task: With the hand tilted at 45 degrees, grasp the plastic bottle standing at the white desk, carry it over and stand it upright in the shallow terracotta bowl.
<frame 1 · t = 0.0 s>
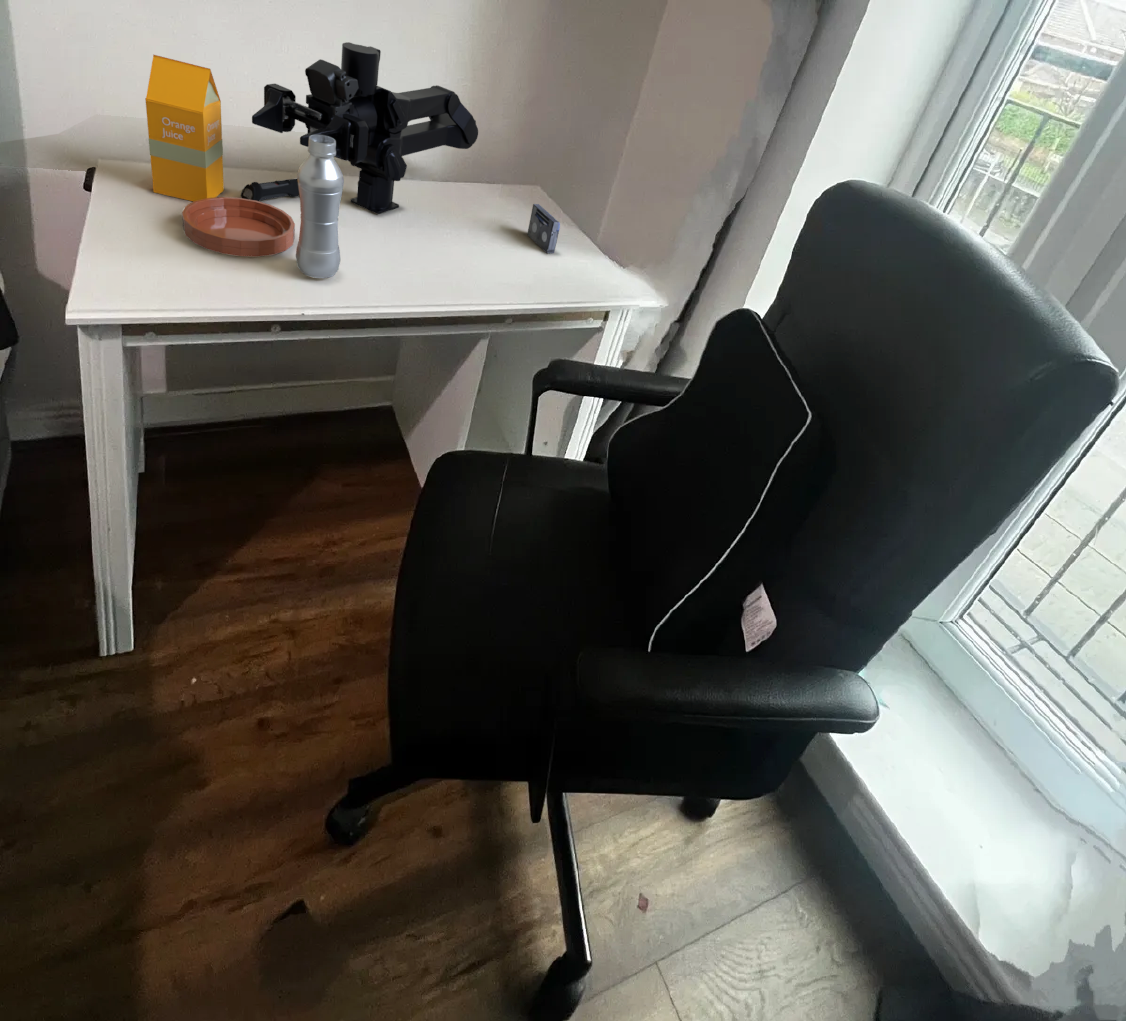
hand: (276, 130, 122), 17 cm above the table, tool horizontal, fingers open, 9 cm apart
electric trimmer: (282, 197, 145), on the table
mini dv tape: (540, 244, 155), on the table
bowl: (240, 236, 129), on the table
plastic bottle: (317, 275, 126), on the table
orange juice: (189, 192, 138), on the table
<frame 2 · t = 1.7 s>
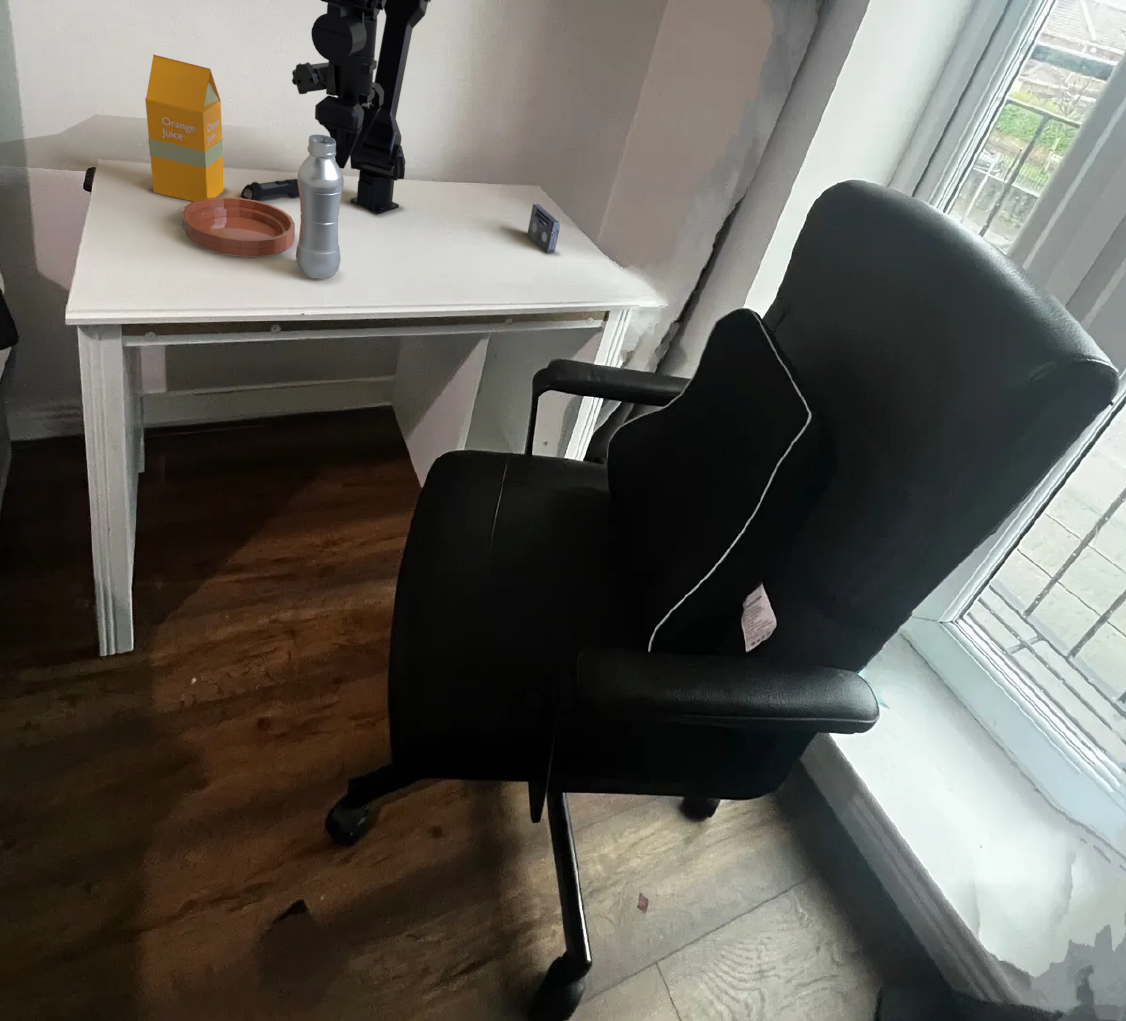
hand: (347, 159, 130), 13 cm above the table, tool pointing down, fingers open, 9 cm apart
nothing on the table moved.
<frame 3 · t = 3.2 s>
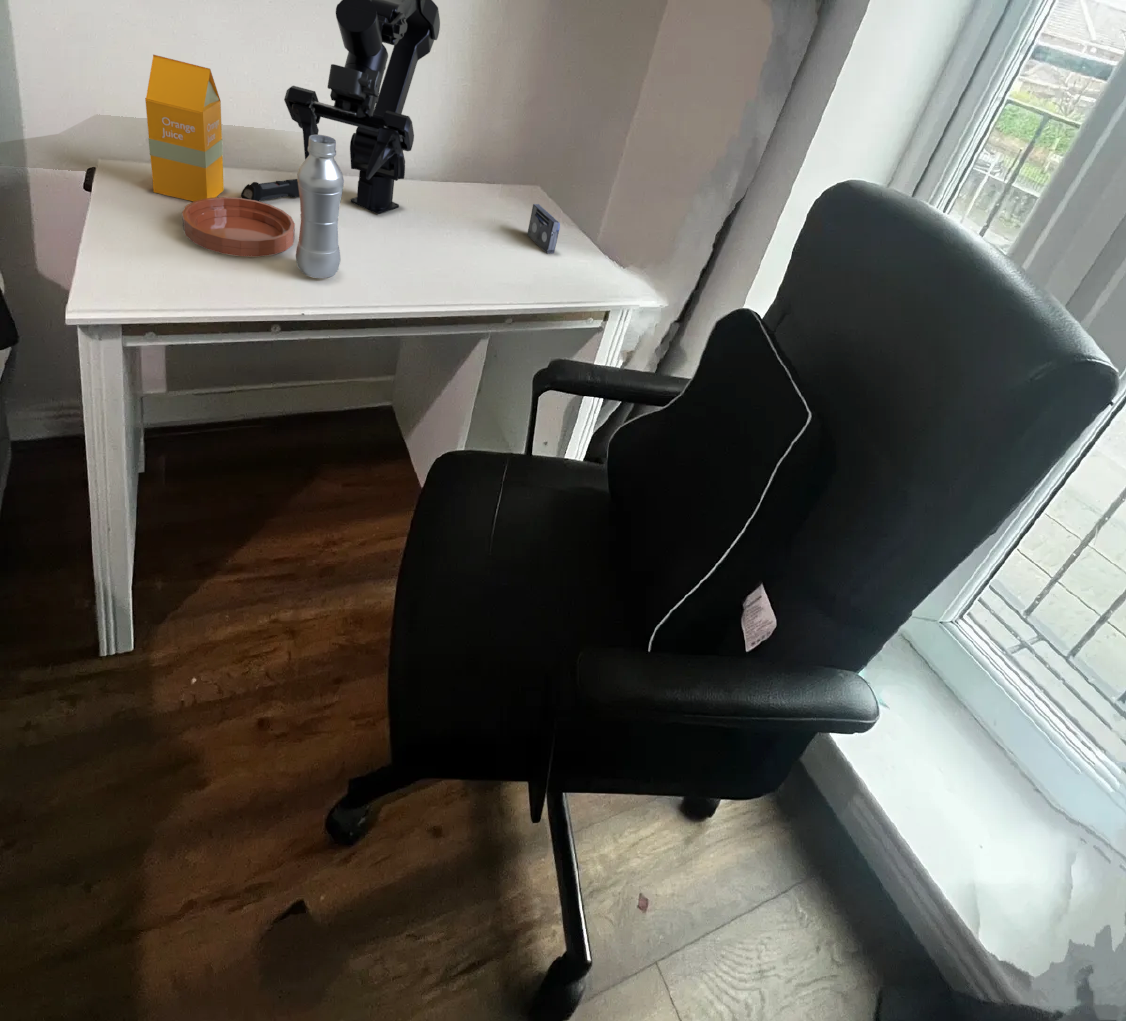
hand: (337, 170, 124), 13 cm above the table, tool tilted 45°, fingers open, 9 cm apart
nothing on the table moved.
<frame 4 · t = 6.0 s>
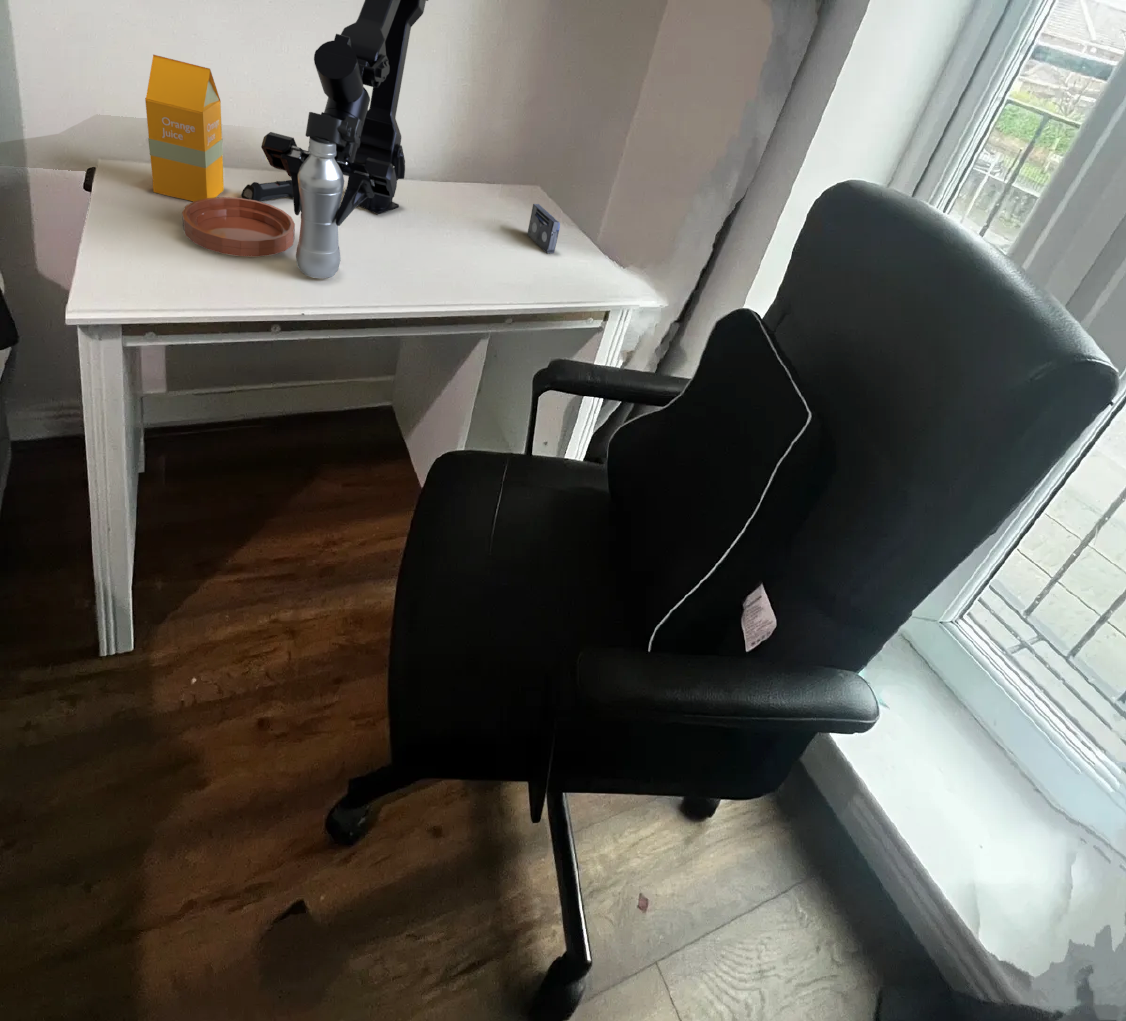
hand: (316, 219, 119), 9 cm above the table, tool tilted 45°, fingers closed on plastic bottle, 6 cm apart
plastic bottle: (317, 275, 126), on the table, touching gripper
everything else where it was.
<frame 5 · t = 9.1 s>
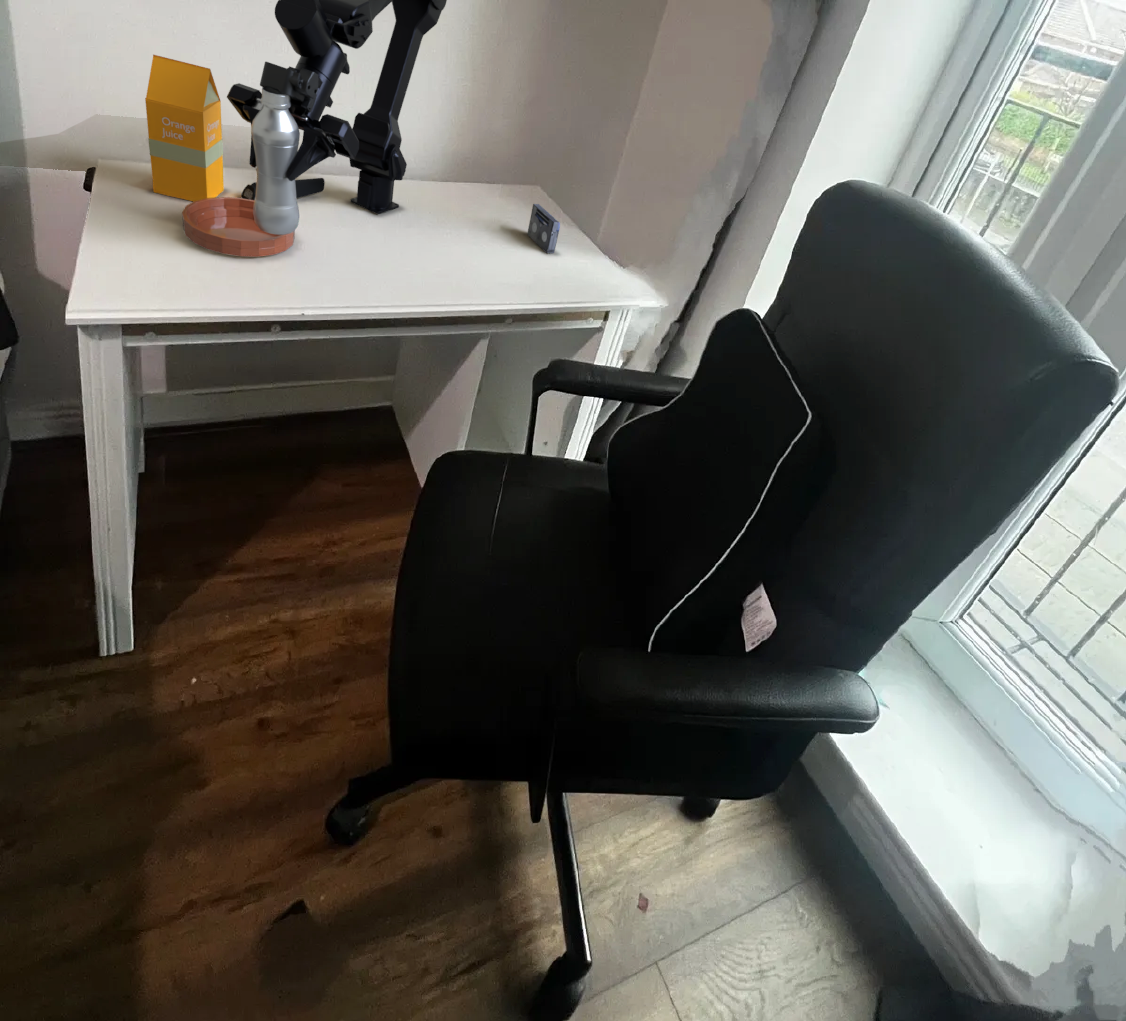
hand: (270, 172, 118), 13 cm above the table, tool tilted 45°, fingers closed on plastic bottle, 6 cm apart
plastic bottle: (276, 231, 125), point 4 cm above the table, touching gripper
everything else where it was.
when the fingers open (10 cm above the table, at t = 12.4 s): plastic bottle stays where it is, resting on bowl.
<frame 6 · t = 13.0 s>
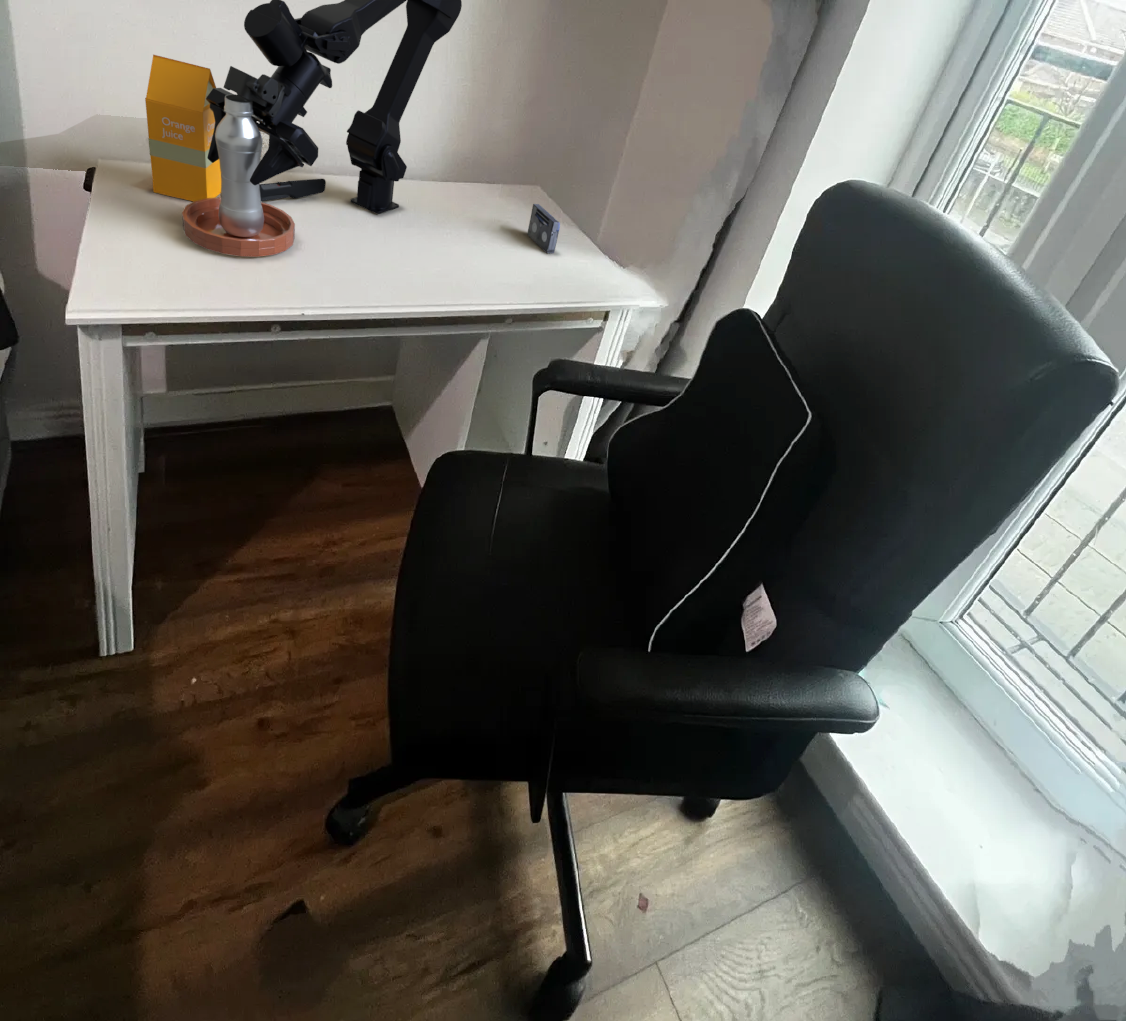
hand: (230, 171, 122), 10 cm above the table, tool tilted 45°, fingers open, 9 cm apart
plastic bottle: (241, 234, 129), resting on bowl
everything else where it was.
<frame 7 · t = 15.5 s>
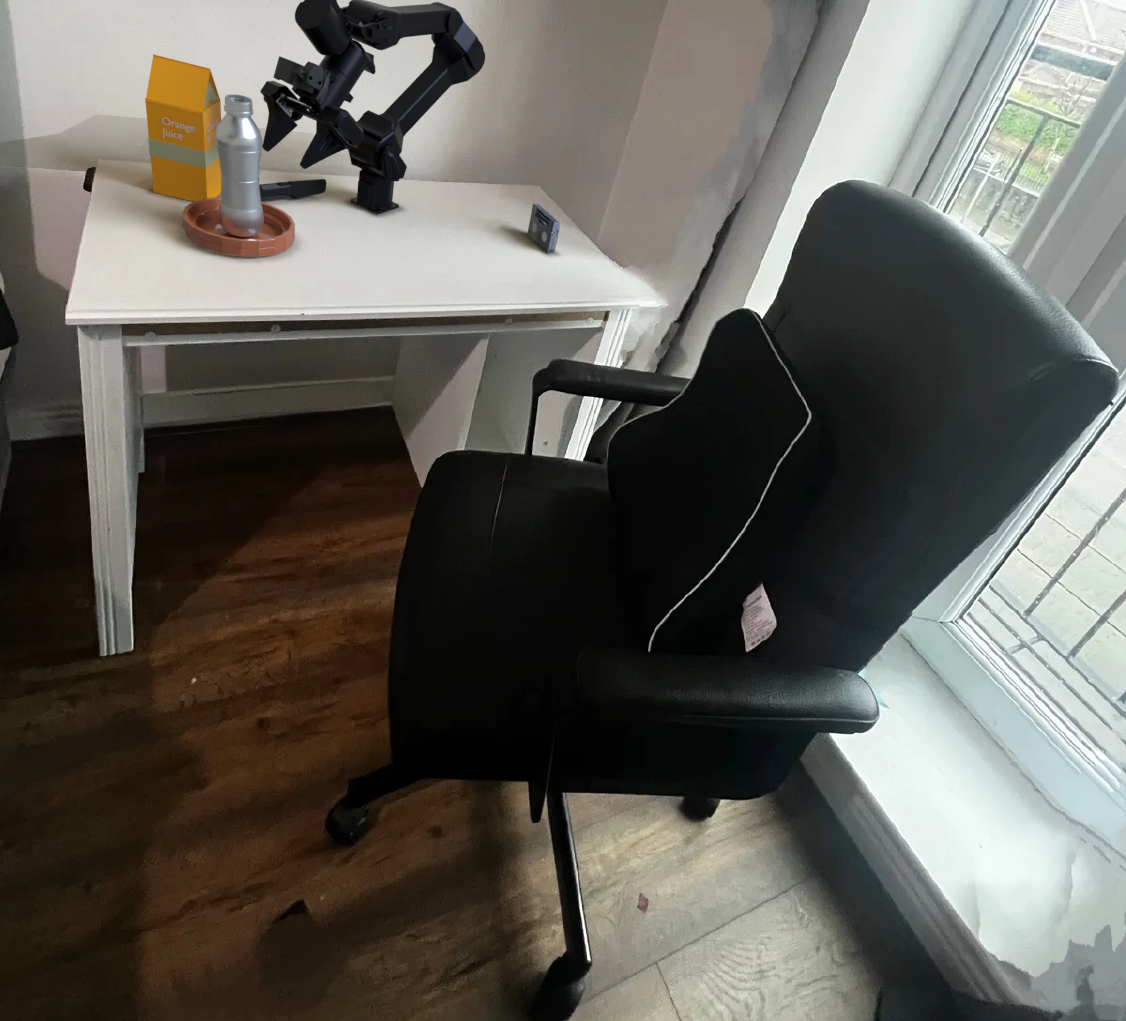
hand: (283, 158, 129), 11 cm above the table, tool tilted 40°, fingers open, 9 cm apart
nothing on the table moved.
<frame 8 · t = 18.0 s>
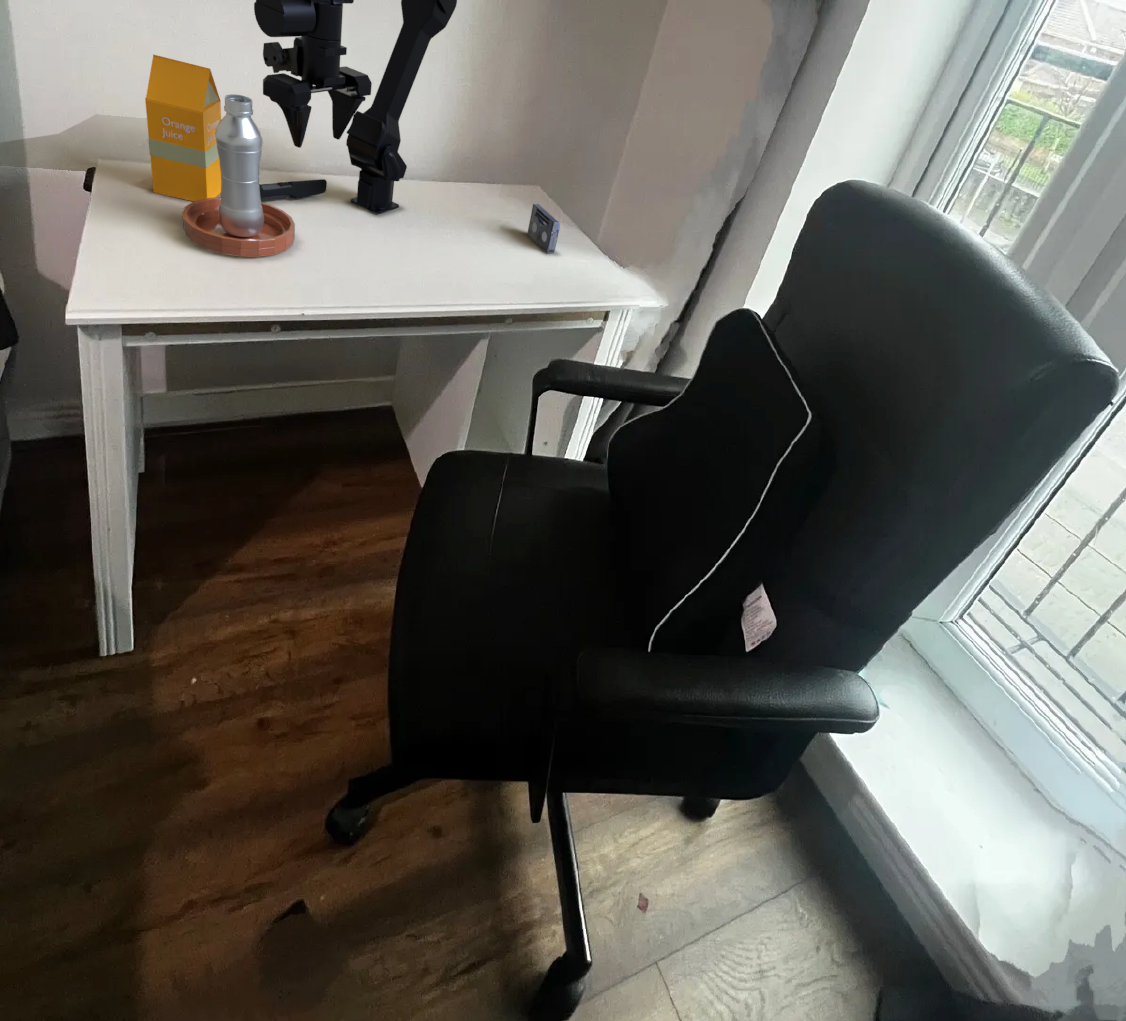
hand: (317, 142, 132), 13 cm above the table, tool pointing down, fingers open, 9 cm apart
nothing on the table moved.
at the end: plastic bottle 0.3 cm off-centre in the bowl, point 0.3 cm above the bowl's base; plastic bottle tilted 0°; the gripper is holding nothing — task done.
